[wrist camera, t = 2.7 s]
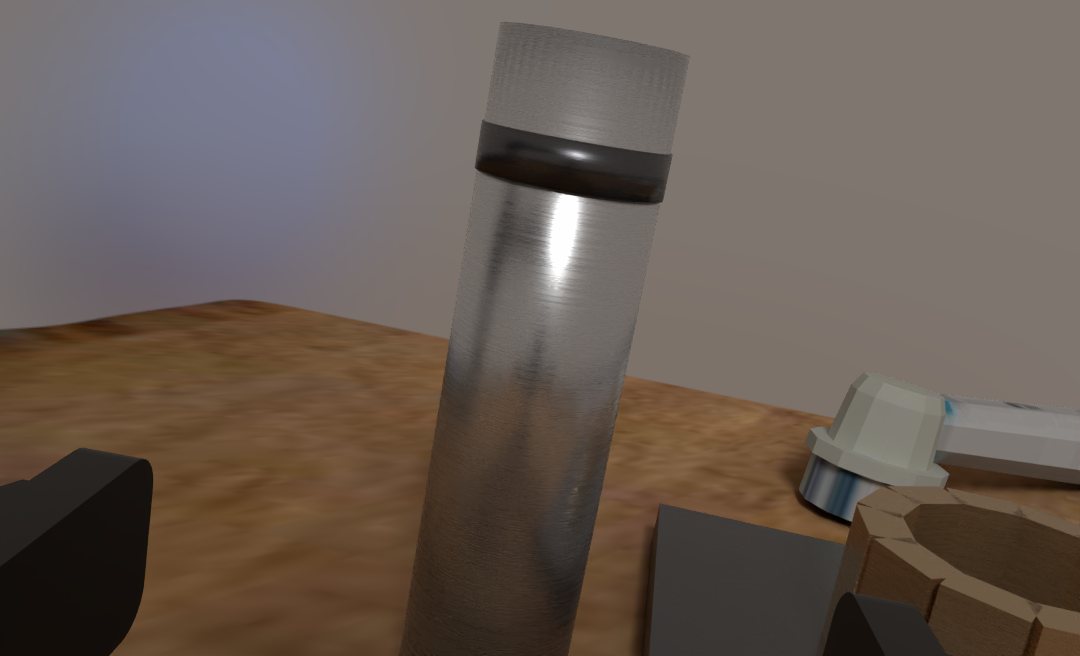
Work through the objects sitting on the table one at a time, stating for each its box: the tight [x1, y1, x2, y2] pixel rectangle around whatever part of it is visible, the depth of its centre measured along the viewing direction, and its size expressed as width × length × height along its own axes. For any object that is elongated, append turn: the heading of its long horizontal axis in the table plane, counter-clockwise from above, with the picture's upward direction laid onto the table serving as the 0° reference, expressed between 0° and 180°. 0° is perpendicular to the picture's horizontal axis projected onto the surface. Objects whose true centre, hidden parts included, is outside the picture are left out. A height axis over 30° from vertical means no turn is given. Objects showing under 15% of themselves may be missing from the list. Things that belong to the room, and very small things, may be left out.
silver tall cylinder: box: [399, 22, 690, 656], centre depth 22 cm, size 4×4×16 cm
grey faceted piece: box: [799, 372, 1080, 522], centre depth 47 cm, size 5×7×25 cm
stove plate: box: [642, 486, 1080, 656], centre depth 26 cm, size 18×16×6 cm
